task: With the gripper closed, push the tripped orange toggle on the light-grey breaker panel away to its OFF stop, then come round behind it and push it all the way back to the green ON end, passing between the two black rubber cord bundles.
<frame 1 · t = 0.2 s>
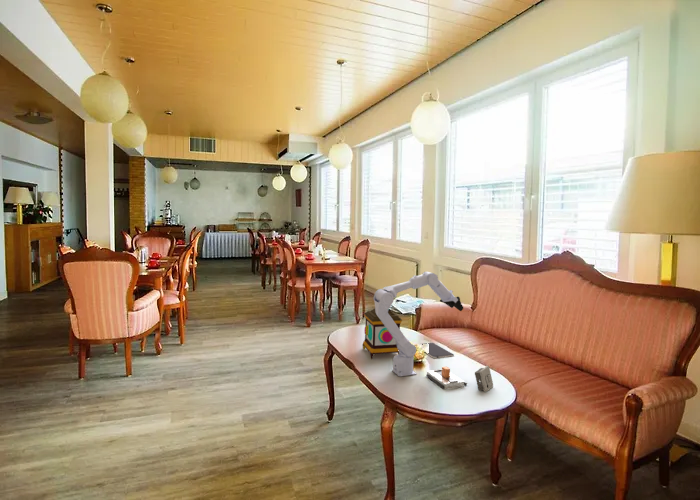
hand: (457, 308, 206), 31 cm above the table, tool tilted 45°, fingers open, 7 cm apart
notebook: (433, 352, 233), on the table
electrical switch: (483, 388, 185), on the table
cord left: (435, 382, 190), on the table
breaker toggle: (445, 372, 191), point 5 cm above the table, slide at 4.5 cm
decorative lantern: (381, 353, 228), on the table
breaker panel: (444, 381, 192), on the table
cord right: (456, 379, 194), on the table
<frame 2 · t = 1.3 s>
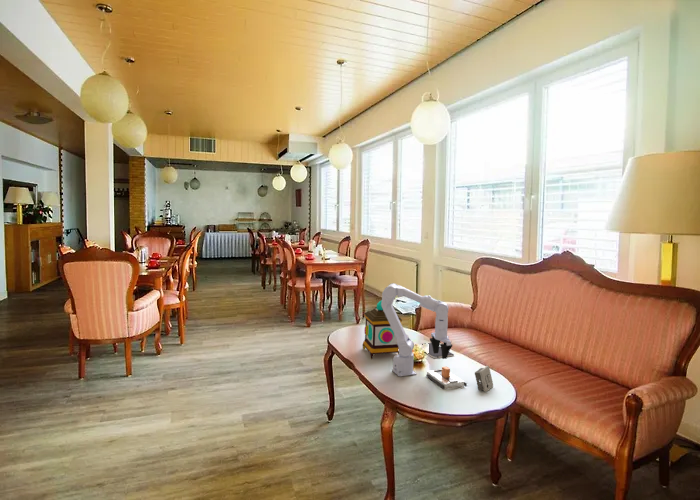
hand: (440, 355, 195), 10 cm above the table, tool pointing down, fingers open, 7 cm apart
nothing on the table moved.
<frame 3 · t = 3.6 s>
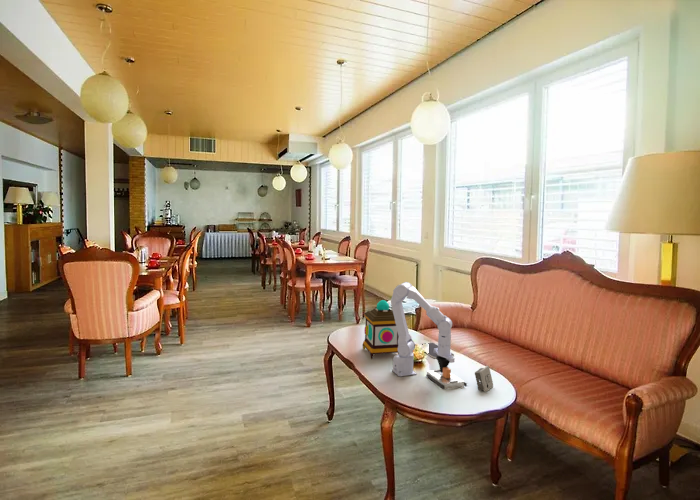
hand: (443, 372, 193), 4 cm above the table, tool pointing down, fingers closed
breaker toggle: (446, 372, 190), point 5 cm above the table, slide at 3.8 cm, touching gripper
everything else where it was.
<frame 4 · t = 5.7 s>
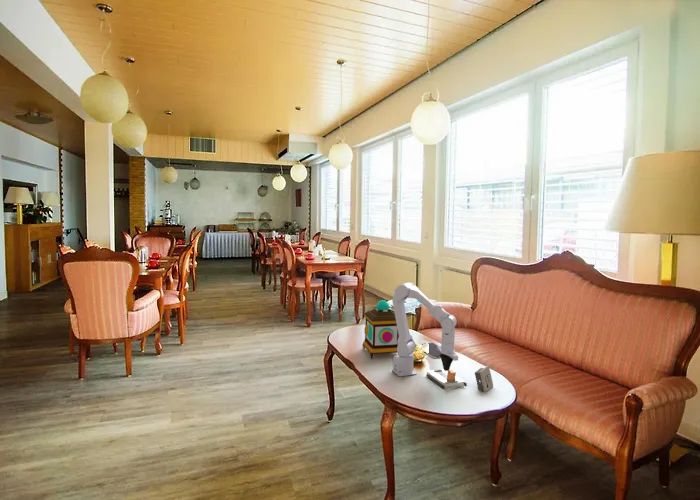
hand: (446, 370, 190), 6 cm above the table, tool pointing down, fingers closed
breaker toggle: (451, 375, 186), point 5 cm above the table, slide at 0.0 cm
everything else where it was.
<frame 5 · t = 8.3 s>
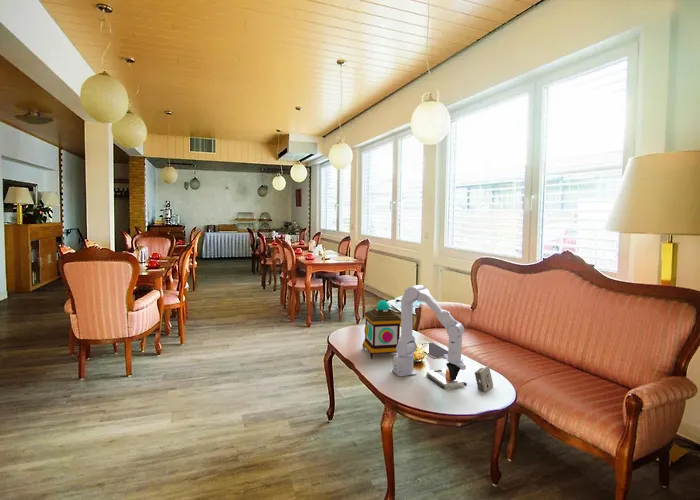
hand: (453, 379, 185), 4 cm above the table, tool pointing down, fingers closed
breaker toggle: (449, 374, 188), point 5 cm above the table, slide at 1.3 cm, touching gripper
everything else where it was.
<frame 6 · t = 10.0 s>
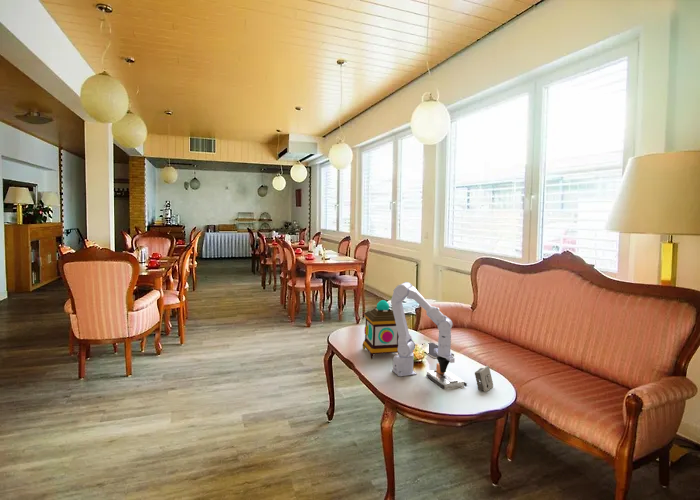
hand: (443, 372, 193), 4 cm above the table, tool pointing down, fingers closed
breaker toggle: (440, 368, 195), point 5 cm above the table, slide at 9.2 cm, touching gripper
everything else where it was.
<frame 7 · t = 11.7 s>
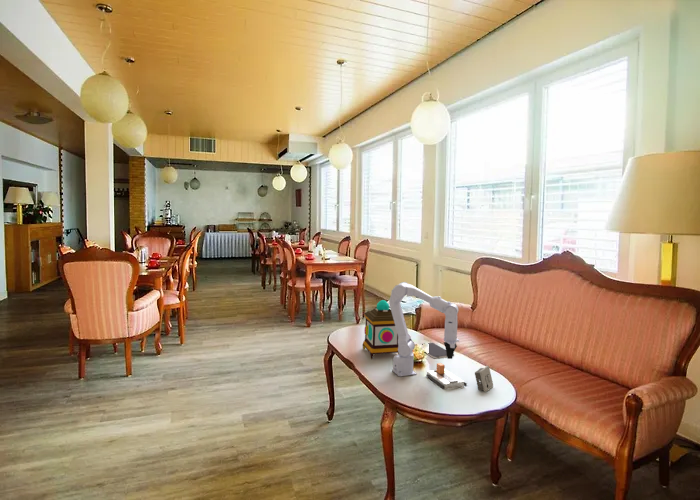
hand: (449, 358, 192), 10 cm above the table, tool pointing down, fingers closed
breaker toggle: (440, 368, 195), point 5 cm above the table, slide at 9.0 cm
everything else where it was.
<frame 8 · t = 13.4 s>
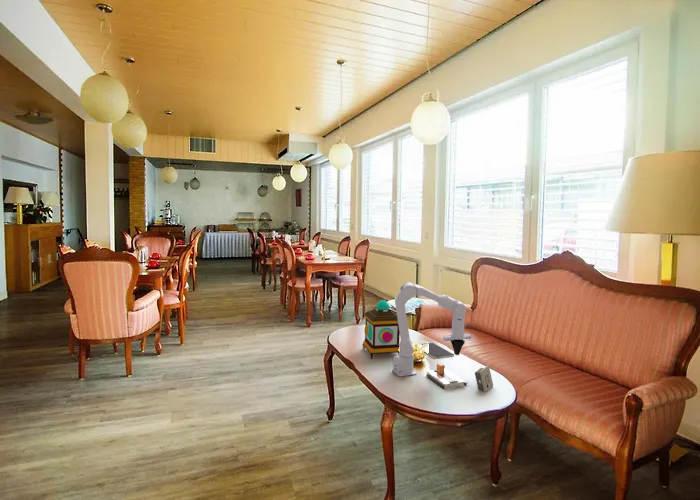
hand: (456, 354, 198), 10 cm above the table, tool pointing down, fingers closed
nothing on the table moved.
at the end: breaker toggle slide at 9.0 cm; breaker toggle moved 4.5 cm from its start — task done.
